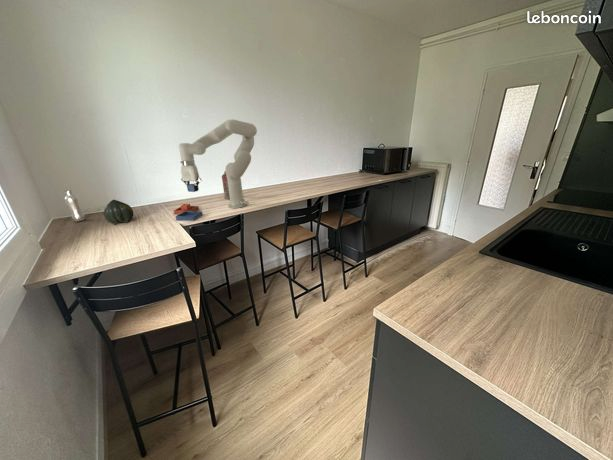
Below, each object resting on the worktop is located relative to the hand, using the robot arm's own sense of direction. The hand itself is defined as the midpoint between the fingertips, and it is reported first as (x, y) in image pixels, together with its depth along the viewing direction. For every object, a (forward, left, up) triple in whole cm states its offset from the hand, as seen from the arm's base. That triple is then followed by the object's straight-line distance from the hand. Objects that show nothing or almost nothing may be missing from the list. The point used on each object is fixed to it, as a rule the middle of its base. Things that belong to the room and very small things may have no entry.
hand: (193, 190), depth 170 cm
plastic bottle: (+69, +23, -16) cm, 74 cm away
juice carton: (-8, -38, -16) cm, 42 cm away
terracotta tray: (+9, -1, -16) cm, 18 cm away
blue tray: (0, +10, -16) cm, 19 cm away
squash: (+40, +22, -16) cm, 48 cm away
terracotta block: (+9, -1, -15) cm, 18 cm away
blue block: (0, 0, 0) cm, 0 cm away
